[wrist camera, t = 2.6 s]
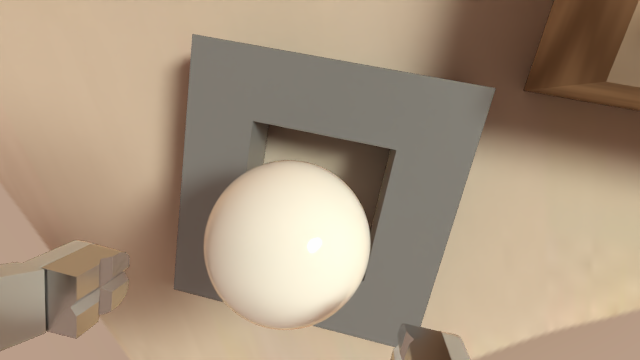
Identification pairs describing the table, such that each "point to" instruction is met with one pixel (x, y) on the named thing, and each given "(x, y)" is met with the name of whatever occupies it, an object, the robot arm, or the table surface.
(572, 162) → the table surface
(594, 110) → the table surface
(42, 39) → the table surface
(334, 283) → the lightbulb
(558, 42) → the raised socket stand
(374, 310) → the low socket block
